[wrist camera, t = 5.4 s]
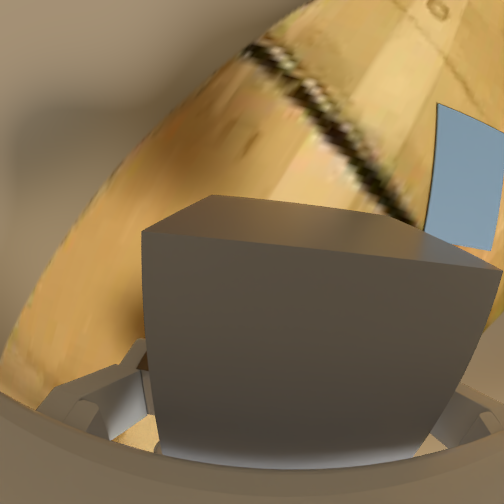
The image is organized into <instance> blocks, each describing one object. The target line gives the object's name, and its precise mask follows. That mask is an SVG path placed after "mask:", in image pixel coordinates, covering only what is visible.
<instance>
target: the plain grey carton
mask: <svg viewBox="0 0 504 504" xmlns="http://www.w3.org/2000/svg"><path fill="white" fill-rule="evenodd" d="M141 250H142V291H143V311H144V326H145V338H146V349H147V359H148V368H149V376H150V384H151V392H152V399H153V405H154V412H155V418H156V424H157V429H158V435H159V440H160V445H161V450H162V455H166V456H171V457H176V458H181V459H186V460H192V461H198V462H204V463H211V464H219V465H227V466H236V467H248V468H263V469H327V468H342V467H353V466H363V465H371V464H378V463H385V462H391V461H397V460H402V459H408V458H412V457H413V456H414V454H415V453H416V452H417V450H418V449H419V448H420V446H421V445H422V443H423V442H424V440H425V439H426V437H427V436H428V434H429V433H430V432H431V430H432V428H433V427H434V425H435V424H436V422H437V421H438V419H439V417H440V416H441V414H442V413H443V411H444V409H445V408H446V406H447V404H448V402H449V401H450V399H451V397H452V395H453V394H454V392H455V390H456V388H457V386H458V384H459V382H460V380H461V378H462V376H463V375H464V372H465V371H466V368H467V366H468V364H469V362H470V360H471V358H472V355H473V353H474V351H475V349H476V347H477V344H478V342H479V339H480V337H481V335H482V332H483V330H484V327H485V325H486V322H487V319H488V317H489V314H490V311H491V308H492V305H493V302H494V299H495V296H496V293H497V290H498V287H499V283H500V280H501V276H502V273H503V271H502V270H501V269H499V268H497V267H495V266H493V265H491V264H489V263H487V262H485V261H484V260H482V259H480V258H478V257H476V256H474V255H472V254H470V253H468V252H466V251H464V250H462V249H460V248H458V247H456V246H454V245H452V244H449V243H447V242H445V241H443V240H441V239H439V238H437V237H435V236H432V235H430V234H428V233H426V232H424V231H421V230H419V229H417V228H415V227H412V226H410V225H408V224H405V223H403V222H401V221H398V220H396V219H394V218H391V217H389V216H384V215H378V214H371V213H365V212H358V211H351V210H344V209H337V208H330V207H323V206H315V205H307V204H299V203H291V202H282V201H273V200H264V199H254V198H244V197H233V196H222V195H210V196H208V197H206V198H204V199H202V200H200V201H198V202H196V203H194V204H192V205H190V206H188V207H186V208H184V209H182V210H180V211H178V212H176V213H175V214H173V215H171V216H169V217H167V218H165V219H163V220H161V221H159V222H157V223H156V224H154V225H152V226H150V227H148V228H146V229H145V230H143V231H142V238H141Z"/></svg>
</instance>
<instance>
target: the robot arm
mask: <svg viewBox="0 0 504 504" xmlns="http://www.w3.org/2000/svg"><path fill="white" fill-rule="evenodd" d="M147 414H150V415H155V412H154V405H153V399H152V392H151V384H150V376H149V368H148V359H147V349H146V339H144V338H138V339H137V340H136V341H135V342H134V344H133V345H132V347H131V348H130V350H129V351H128V353H127V354H126V356H125V357H124V358H123V360H122V361H121V363H120V364H119V365H116V364H114V365H111V366H109V367H106V368H104V369H101V370H99V371H96V372H94V373H91V374H89V375H86V376H84V377H81V378H78V379H76V380H73V381H70V382H68V383H65V384H62V385H60V386H57V387H54V389H53V390H52V391H51V392H50V393H49V395H48V396H47V397H46V398H45V400H44V401H43V402H42V403H41V405H40V406H39V407H38V408H37V410H34V409H32V408H30V407H28V406H26V405H24V404H22V403H20V402H18V401H16V400H15V399H13V398H11V397H9V396H7V395H6V394H4V393H2V392H0V504H504V404H503V403H501V402H499V401H497V400H495V399H493V398H491V397H489V396H487V395H485V394H483V393H481V392H479V391H477V390H475V389H473V388H471V387H469V386H467V385H465V384H463V383H461V382H459V384H458V386H457V388H456V390H455V392H454V394H453V395H452V397H451V399H450V401H449V402H448V404H447V406H446V408H445V409H444V411H443V413H442V414H441V416H440V417H439V419H438V421H437V422H436V424H435V425H434V427H433V428H432V430H431V432H430V434H432V435H433V436H434V437H435V438H436V439H438V440H439V441H440V442H441V443H442V444H444V445H445V446H446V447H447V448H448V449H446V450H442V451H438V452H435V453H430V454H426V455H422V456H417V457H413V458H408V459H402V460H397V461H391V462H385V463H378V464H371V465H363V466H353V467H342V468H327V469H263V468H248V467H236V466H227V465H219V464H211V463H204V462H198V461H192V460H186V459H181V458H176V457H171V456H166V455H162V454H157V453H153V452H149V451H145V450H141V449H137V448H134V447H130V446H127V445H123V444H120V443H117V442H113V441H111V440H112V439H114V438H115V437H117V436H118V435H120V434H121V433H123V432H124V431H126V430H127V429H129V428H130V427H131V426H133V425H134V424H136V423H137V422H139V421H140V420H141V419H143V418H144V417H146V416H147Z"/></svg>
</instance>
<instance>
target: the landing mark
mask: <svg viewBox="0 0 504 504" xmlns="http://www.w3.org/2000/svg"><path fill="white" fill-rule="evenodd" d="M503 175H504V133H502V132H500V131H498V130H496V129H494V128H492V127H490V126H488V125H486V124H484V123H482V122H480V121H478V120H476V119H474V118H471V117H469V116H467V115H465V114H462V113H460V112H458V111H455V110H453V109H451V108H448V107H446V106H443V105H441V104H437V130H436V145H435V157H434V167H433V176H432V183H431V191H430V198H429V204H428V210H427V216H426V221H425V227H424V232H426V233H428V234H430V235H432V236H435V237H437V238H439V239H441V240H443V241H445V242H447V243H449V244H455V245H460V246H466V247H471V248H477V249H482V250H487V251H491V248H492V244H493V239H494V235H495V230H496V225H497V219H498V213H499V207H500V200H501V193H502V185H503Z"/></svg>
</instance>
